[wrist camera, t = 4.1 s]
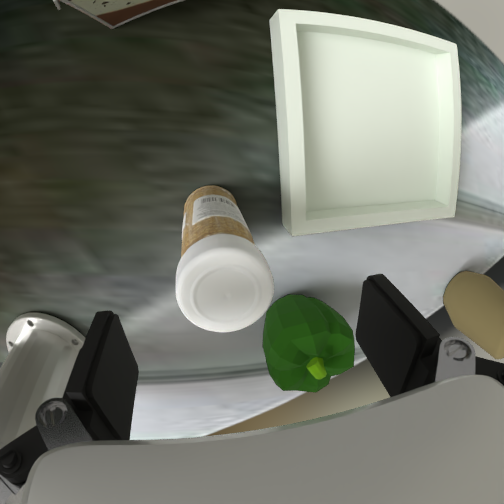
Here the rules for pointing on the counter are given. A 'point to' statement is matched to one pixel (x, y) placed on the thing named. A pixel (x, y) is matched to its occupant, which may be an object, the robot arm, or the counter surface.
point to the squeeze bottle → (477, 310)
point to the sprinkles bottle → (220, 265)
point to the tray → (363, 122)
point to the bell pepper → (306, 343)
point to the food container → (116, 9)
